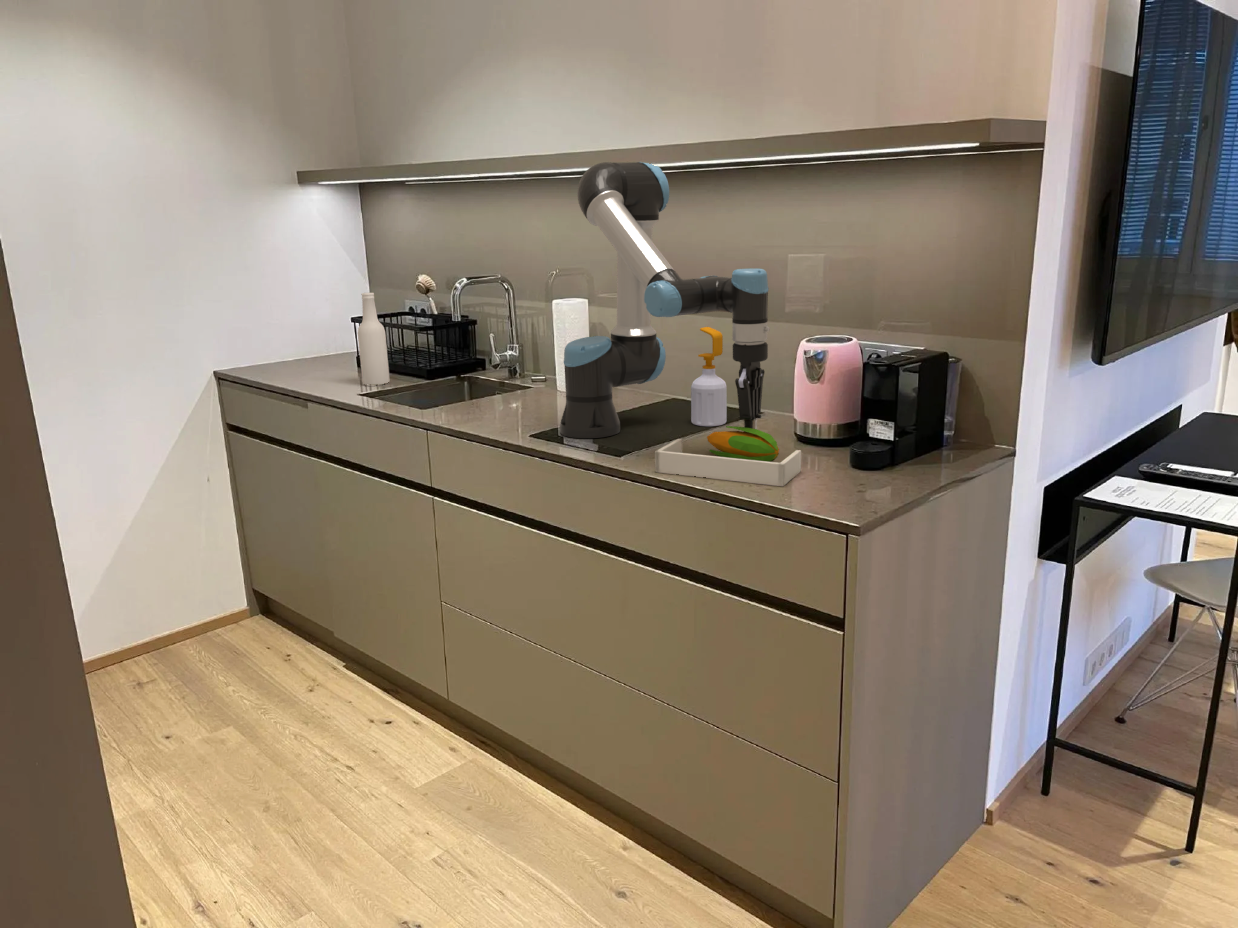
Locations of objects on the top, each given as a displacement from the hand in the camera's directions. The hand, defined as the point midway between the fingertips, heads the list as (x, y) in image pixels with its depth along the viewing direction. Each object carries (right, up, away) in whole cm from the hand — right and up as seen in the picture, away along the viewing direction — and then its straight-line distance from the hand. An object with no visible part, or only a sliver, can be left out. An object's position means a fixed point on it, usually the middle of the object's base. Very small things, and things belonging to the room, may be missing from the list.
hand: (750, 447), depth 207 cm
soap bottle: (-6, +7, +34) cm, 35 cm away
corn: (-3, -3, -3) cm, 5 cm away
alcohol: (-110, +23, +103) cm, 153 cm away
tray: (-6, -5, -11) cm, 14 cm away
